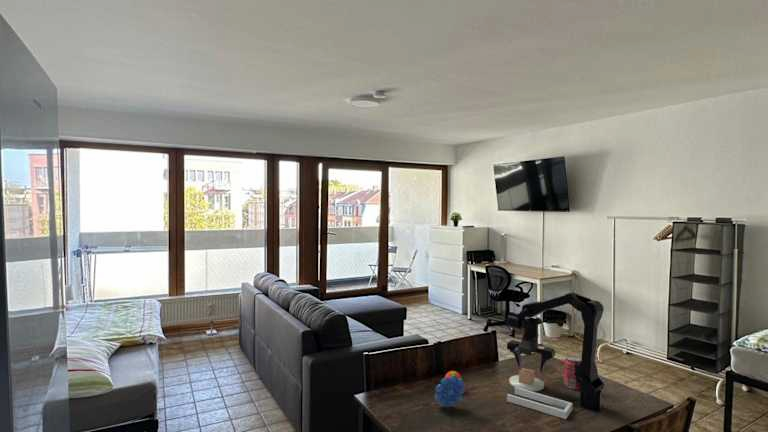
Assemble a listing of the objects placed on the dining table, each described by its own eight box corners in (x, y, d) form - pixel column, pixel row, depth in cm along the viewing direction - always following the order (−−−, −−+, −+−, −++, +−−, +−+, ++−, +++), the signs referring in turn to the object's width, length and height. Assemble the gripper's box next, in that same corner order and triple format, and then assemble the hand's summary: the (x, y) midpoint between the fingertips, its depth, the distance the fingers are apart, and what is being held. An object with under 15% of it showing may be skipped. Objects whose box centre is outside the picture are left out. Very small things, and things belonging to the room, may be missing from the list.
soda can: (578, 383, 177) (579, 355, 177) (584, 390, 170) (585, 361, 170) (561, 382, 178) (561, 354, 178) (566, 389, 171) (567, 361, 171)
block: (534, 381, 177) (534, 370, 176) (530, 385, 173) (530, 374, 172) (522, 378, 180) (522, 368, 179) (518, 382, 176) (518, 371, 175)
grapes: (461, 401, 160) (462, 370, 160) (466, 409, 153) (467, 377, 153) (431, 402, 159) (432, 371, 158) (435, 410, 152) (436, 378, 152)
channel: (572, 409, 154) (572, 403, 154) (565, 419, 147) (565, 412, 147) (515, 393, 167) (515, 386, 167) (506, 401, 160) (507, 394, 160)
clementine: (461, 393, 166) (461, 376, 166) (443, 392, 167) (444, 374, 167) (461, 385, 174) (462, 368, 174) (445, 383, 175) (445, 367, 175)
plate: (548, 383, 177) (548, 380, 177) (537, 394, 166) (537, 392, 166) (516, 374, 186) (516, 372, 186) (504, 384, 175) (504, 382, 175)
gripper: (502, 332, 175) (501, 369, 175) (547, 341, 163) (547, 381, 164) (511, 326, 184) (511, 361, 184) (555, 335, 172) (555, 372, 172)
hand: (530, 369), depth 176 cm, fingers open, 9 cm apart
